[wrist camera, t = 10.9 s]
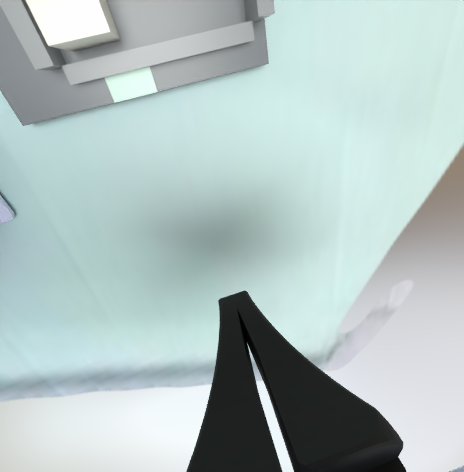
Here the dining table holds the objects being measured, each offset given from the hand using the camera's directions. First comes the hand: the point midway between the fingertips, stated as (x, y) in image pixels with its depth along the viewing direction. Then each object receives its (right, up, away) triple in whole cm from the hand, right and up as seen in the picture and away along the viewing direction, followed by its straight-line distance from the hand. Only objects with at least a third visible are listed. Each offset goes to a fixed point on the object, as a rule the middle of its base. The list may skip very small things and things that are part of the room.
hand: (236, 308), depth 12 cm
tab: (-7, +14, -1) cm, 16 cm away
